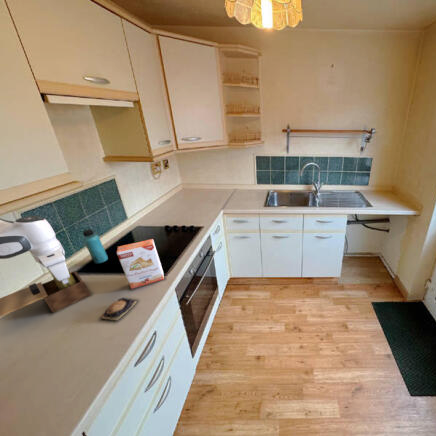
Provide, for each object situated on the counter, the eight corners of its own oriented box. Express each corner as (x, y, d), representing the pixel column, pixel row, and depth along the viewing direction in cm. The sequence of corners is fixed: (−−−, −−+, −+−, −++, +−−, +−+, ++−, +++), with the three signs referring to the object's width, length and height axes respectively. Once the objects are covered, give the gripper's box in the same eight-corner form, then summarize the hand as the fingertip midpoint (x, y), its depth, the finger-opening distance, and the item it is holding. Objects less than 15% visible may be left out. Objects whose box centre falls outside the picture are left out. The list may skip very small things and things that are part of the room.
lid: (0, 316, 83) (-5, 310, 81) (-3, 301, 89) (-8, 295, 88) (47, 296, 92) (44, 290, 90) (41, 283, 98) (38, 277, 97)
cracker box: (131, 290, 106) (115, 252, 97) (131, 282, 111) (117, 246, 102) (164, 279, 112) (152, 243, 103) (164, 272, 117) (152, 237, 108)
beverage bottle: (111, 257, 129) (97, 226, 121) (106, 264, 124) (92, 232, 115) (97, 260, 127) (83, 228, 119) (92, 267, 122) (76, 234, 113)
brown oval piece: (117, 322, 90) (114, 315, 88) (99, 318, 92) (96, 312, 90) (138, 301, 99) (136, 295, 98) (122, 299, 101) (119, 292, 99)
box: (53, 313, 94) (43, 298, 91) (46, 299, 101) (37, 285, 98) (90, 295, 103) (83, 281, 100) (82, 283, 110) (75, 270, 107)
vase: (81, 283, 105) (68, 258, 99) (72, 293, 99) (57, 267, 93) (67, 285, 104) (52, 259, 98) (56, 295, 99) (40, 268, 92)
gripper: (33, 248, 97) (49, 274, 103) (43, 265, 85) (60, 293, 92) (53, 241, 101) (67, 266, 107) (65, 257, 90) (79, 284, 96)
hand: (64, 279), depth 99 cm, fingers closed on vase, 5 cm apart
